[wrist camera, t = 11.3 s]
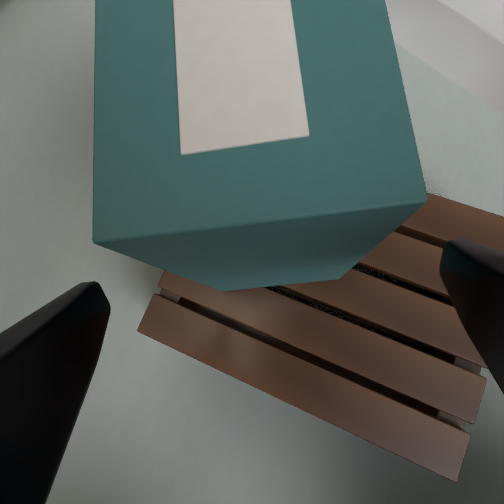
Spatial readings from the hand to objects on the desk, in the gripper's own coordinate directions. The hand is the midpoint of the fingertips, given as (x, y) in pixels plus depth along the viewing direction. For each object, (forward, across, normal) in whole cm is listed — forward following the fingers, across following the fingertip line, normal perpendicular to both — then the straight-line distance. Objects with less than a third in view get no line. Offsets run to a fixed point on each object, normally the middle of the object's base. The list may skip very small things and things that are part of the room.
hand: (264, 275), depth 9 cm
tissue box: (+8, 0, +3) cm, 9 cm away
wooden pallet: (+9, -2, +8) cm, 13 cm away
